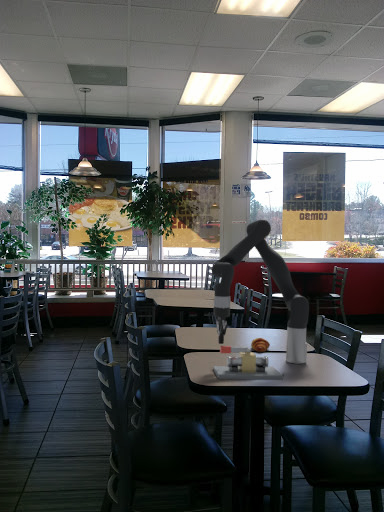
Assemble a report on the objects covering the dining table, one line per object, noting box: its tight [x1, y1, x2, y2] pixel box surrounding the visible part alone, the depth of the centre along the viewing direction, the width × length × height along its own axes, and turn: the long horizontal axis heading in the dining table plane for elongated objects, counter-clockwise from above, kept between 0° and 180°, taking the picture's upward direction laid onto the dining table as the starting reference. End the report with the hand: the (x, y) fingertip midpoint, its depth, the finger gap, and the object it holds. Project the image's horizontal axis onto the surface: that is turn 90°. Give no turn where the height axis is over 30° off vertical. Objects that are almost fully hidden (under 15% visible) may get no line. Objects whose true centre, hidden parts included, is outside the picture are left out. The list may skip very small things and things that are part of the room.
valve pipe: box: [226, 351, 269, 373], centre depth 202 cm, size 18×6×8 cm, turn 96°
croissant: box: [250, 337, 271, 353], centre depth 255 cm, size 21×10×8 cm, turn 173°
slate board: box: [212, 365, 284, 380], centre depth 202 cm, size 28×15×2 cm, turn 96°
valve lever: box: [219, 345, 252, 354], centre depth 202 cm, size 14×3×3 cm, turn 97°
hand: (220, 343), depth 210 cm, fingers closed
